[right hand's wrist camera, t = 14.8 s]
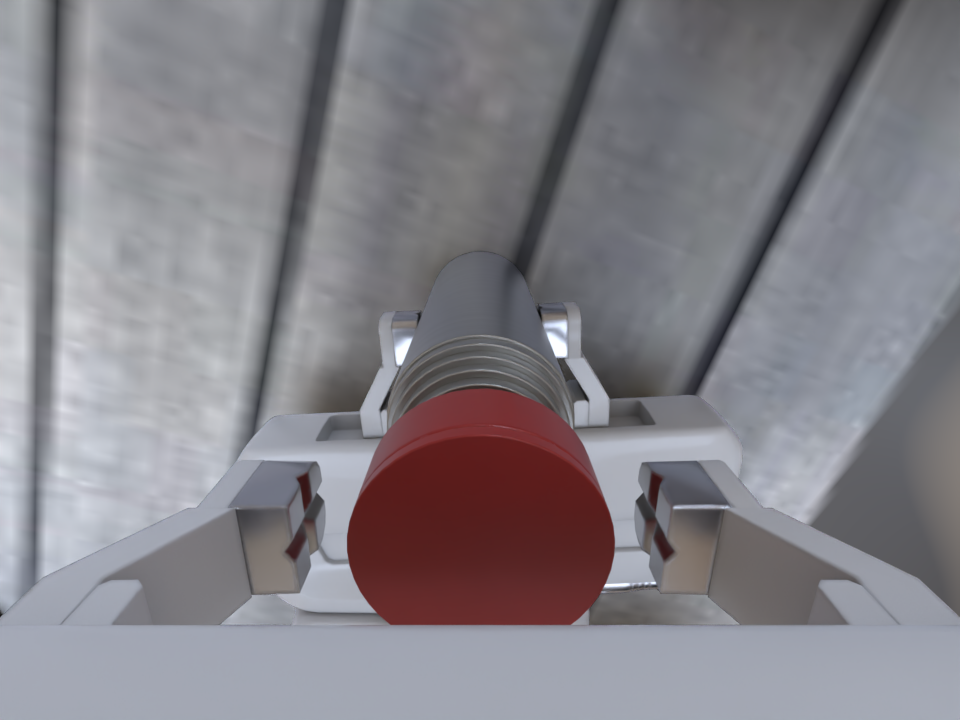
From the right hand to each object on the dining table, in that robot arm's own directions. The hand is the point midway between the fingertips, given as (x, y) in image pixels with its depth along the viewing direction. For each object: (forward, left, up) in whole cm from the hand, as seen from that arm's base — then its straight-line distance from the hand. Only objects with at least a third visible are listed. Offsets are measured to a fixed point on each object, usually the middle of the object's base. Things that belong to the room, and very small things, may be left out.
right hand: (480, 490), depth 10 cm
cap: (0, 0, +2) cm, 2 cm away
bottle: (0, 0, -16) cm, 16 cm away
